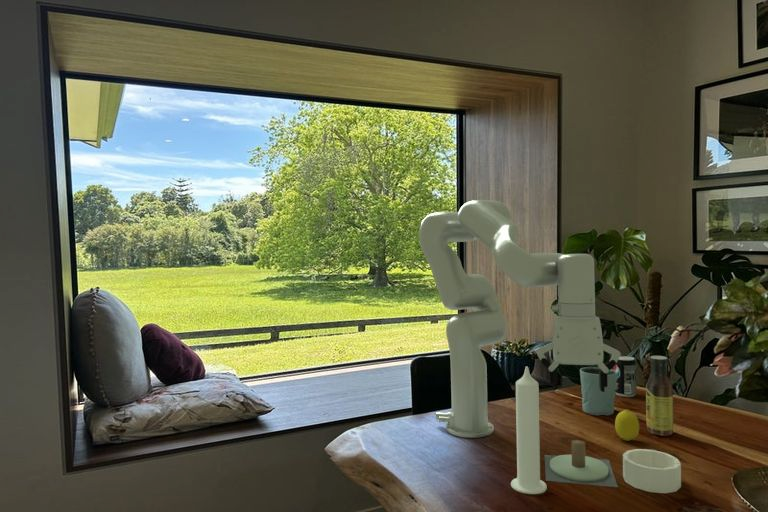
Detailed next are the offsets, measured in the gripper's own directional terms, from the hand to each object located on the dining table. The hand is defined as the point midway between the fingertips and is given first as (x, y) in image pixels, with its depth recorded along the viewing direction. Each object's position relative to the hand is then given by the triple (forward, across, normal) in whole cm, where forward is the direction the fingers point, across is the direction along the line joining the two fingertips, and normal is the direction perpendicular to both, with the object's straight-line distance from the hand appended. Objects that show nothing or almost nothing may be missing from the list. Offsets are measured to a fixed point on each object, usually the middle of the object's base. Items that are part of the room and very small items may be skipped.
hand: (578, 389), depth 117 cm
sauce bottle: (+18, +22, +29) cm, 41 cm away
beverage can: (+18, +19, +64) cm, 69 cm away
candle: (+18, -11, -10) cm, 23 cm away
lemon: (+18, +13, +21) cm, 31 cm away
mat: (+18, 0, 0) cm, 18 cm away
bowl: (+18, +14, -2) cm, 23 cm away
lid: (+18, 0, 0) cm, 18 cm away
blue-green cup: (+18, +9, +45) cm, 49 cm away
